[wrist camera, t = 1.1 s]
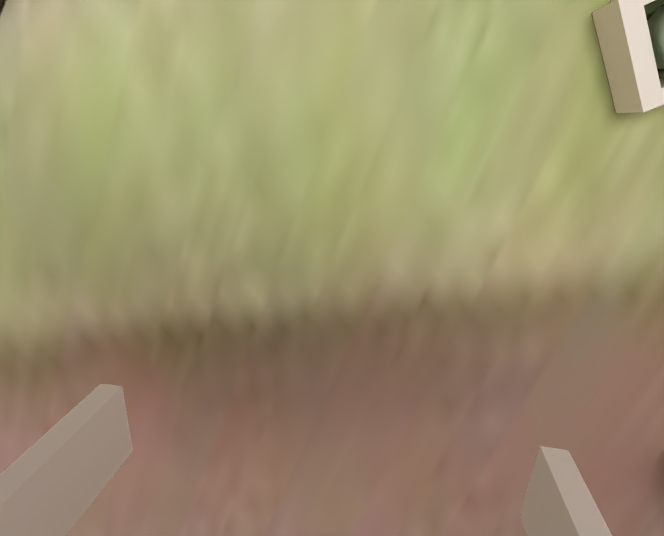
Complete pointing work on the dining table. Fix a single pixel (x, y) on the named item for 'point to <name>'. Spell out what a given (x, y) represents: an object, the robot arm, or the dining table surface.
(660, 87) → the button housing
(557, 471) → the robot arm
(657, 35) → the button
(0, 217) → the dining table surface
